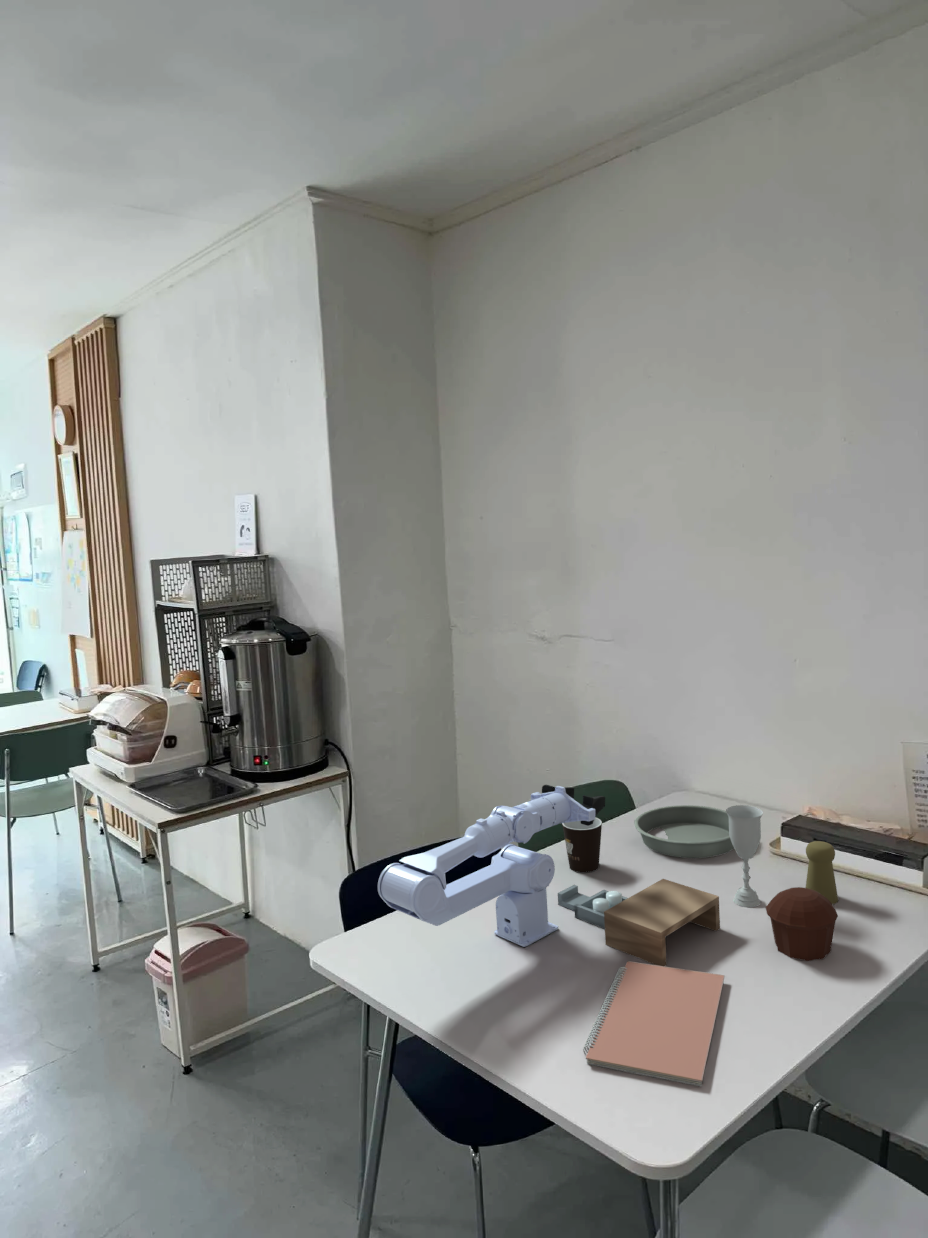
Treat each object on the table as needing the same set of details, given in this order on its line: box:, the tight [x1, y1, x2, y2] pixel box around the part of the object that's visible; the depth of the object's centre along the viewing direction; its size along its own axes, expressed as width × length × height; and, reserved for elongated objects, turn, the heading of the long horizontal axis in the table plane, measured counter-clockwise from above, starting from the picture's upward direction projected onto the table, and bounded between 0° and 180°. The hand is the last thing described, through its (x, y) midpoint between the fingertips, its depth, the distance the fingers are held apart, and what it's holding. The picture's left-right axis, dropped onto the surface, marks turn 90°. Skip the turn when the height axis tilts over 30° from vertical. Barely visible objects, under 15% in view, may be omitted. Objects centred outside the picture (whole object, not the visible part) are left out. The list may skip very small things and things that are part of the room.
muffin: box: [765, 886, 839, 962], centre depth 145 cm, size 12×11×10 cm
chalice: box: [725, 804, 764, 908], centre depth 163 cm, size 7×7×18 cm
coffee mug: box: [561, 816, 603, 874], centre depth 187 cm, size 12×9×10 cm
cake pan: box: [633, 804, 735, 859], centre depth 197 cm, size 25×25×4 cm
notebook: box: [582, 960, 726, 1087], centre depth 128 cm, size 27×17×2 cm, turn 157°
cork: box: [805, 840, 839, 906], centre depth 163 cm, size 6×6×11 cm
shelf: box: [604, 878, 721, 967], centre depth 152 cm, size 18×12×6 cm, turn 132°
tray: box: [557, 884, 628, 930], centre depth 164 cm, size 9×15×4 cm, turn 42°
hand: (588, 797), depth 170 cm, fingers open, 7 cm apart
